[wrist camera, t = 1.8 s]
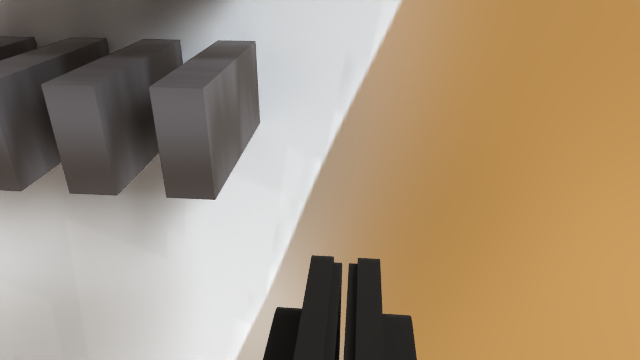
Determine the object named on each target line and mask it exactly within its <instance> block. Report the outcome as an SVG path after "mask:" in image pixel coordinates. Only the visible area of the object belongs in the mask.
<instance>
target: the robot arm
mask: <svg viewBox="0 0 640 360" xmlns="http://www.w3.org/2000/svg"><path fill="white" fill-rule="evenodd" d="M341 282H342V263H334V257H330V256H312V257H311V263H310V269H309V274H308V279H307V285H306V290H305V296H304V302H303V307H302V309H299V308H282V307H277V309H276V311H275V314H274V318H273V322H272V326H271V330H270V334H269V338H268V342H267V346H266V350H265V354H264V358H263V360H339V350H340V317H341V315H340V314H341V284H342V283H341ZM344 360H417V358H416V350H415V342H414V334H413V326H412V320H411V316H408V315H393V314H382V294H381V272H380V259H368V258H358V264H351V263H350V264H349V273H348V291H347V309H346V327H345V346H344Z"/></svg>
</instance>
